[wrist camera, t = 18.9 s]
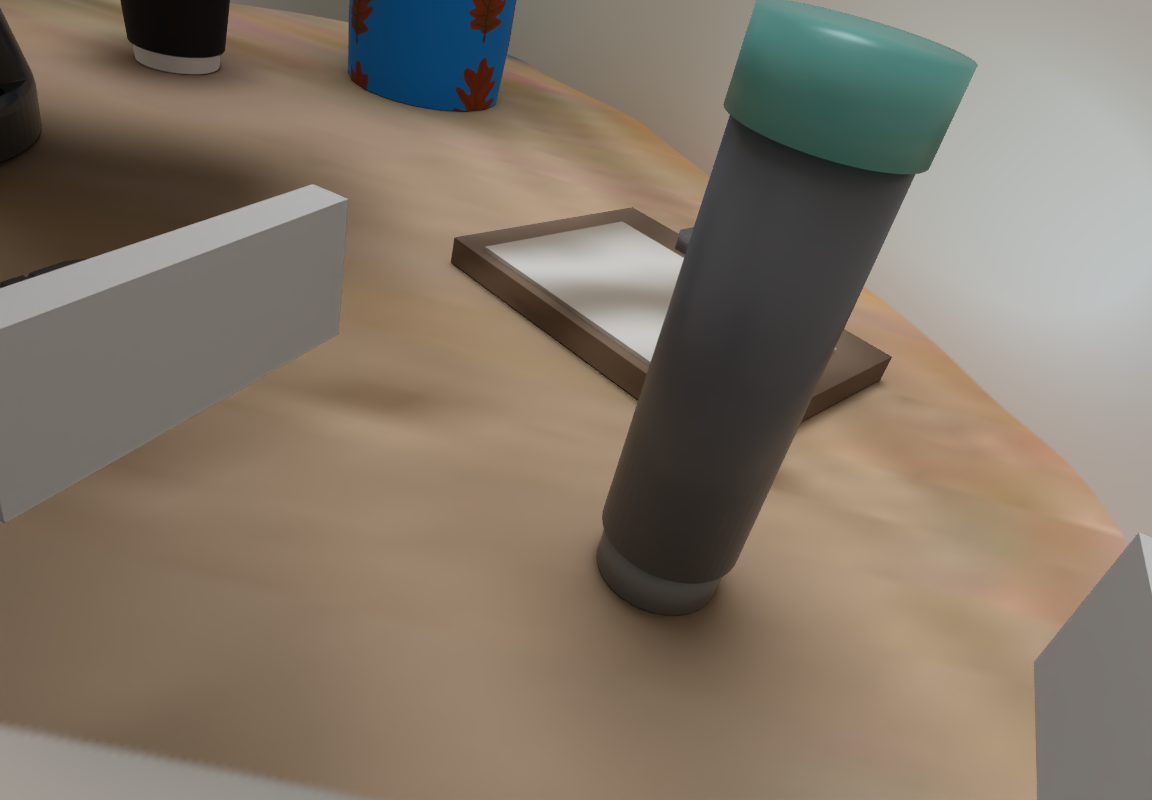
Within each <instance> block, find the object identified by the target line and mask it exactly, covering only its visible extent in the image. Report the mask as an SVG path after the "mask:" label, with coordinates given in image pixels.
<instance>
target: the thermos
mask: <svg viewBox="0 0 1152 800" xmlns="http://www.w3.org/2000/svg"><path fill="white" fill-rule="evenodd" d="M515 4H516V0H350V3H349V51H348V72H349V75H350V77H351V79H352V81H354V82H355V83H357V84H358V85H360V86H361V87H363V88H364V89H366V90H368V91H370V92H373V93H375V94H378V95H380V96H382V97H385V98H387V99H391V100H395V101H398V102H402V103H406V104H409V105H413V106H419V107H425V108H431V109H437V110H447V111H465V112H466V111H475V110H485V109H487V108H489V107H491V106H494V105H495V104H496V100H497V96H498V92H499V87H500V83H501V78H502V73H503V69H504V64H505V60H506V55H507V51H508V46H509V41H510V35H511V29H512V23H513V16H514V11H515Z"/></svg>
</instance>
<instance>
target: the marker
mask: <svg viewBox="0 0 1152 800" xmlns="http://www.w3.org/2000/svg"><path fill="white" fill-rule="evenodd" d="M976 67H977V63H976V62H975V61H973V60H972V59H970V58H969V57H967V56H965V55H964V54H962V53H960V52H957V51H955V50H953V49H951V48H949V47H946V46H944V45H941V44H939V43H936V42H933V41H931V40H929V39H926V38H923V37H920V36H918V35H915V34H912V33H909V32H906V31H903V30H900V29H897V28H894V27H891V26H887V25H884V24H881V23H878V22H875V21H871V20H868V19H864V18H861V17H857V16H854V15H850V14H846V13H842V12H838V11H835V10H831V9H826V8H822V7H818V6H813V5H809V4H804V3H799V2H794V1H787V0H756V3H755V6H754V9H753V12H752V15H751V19H750V22H749V25H748V28H747V31H746V35H745V38H744V41H743V44H742V47H741V50H740V53H739V57H738V60H737V63H736V66H735V70H734V73H733V76H732V79H731V82H730V86H729V88H728V92H727V95H726V98H725V101H724V108H725V109H726V111H727V112H728V113H729V114H730V117H729V120H728V123H727V126H726V129H725V132H724V135H723V138H722V142H721V145H720V148H719V151H718V154H717V157H716V160H715V164H714V166H713V170H712V173H711V176H710V179H709V182H708V185H707V188H706V191H705V194H704V198H703V201H702V204H701V207H700V210H699V213H698V216H697V219H696V222H695V226H694V229H693V232H692V235H691V238H690V241H689V244H688V247H687V250H686V254H685V257H684V260H683V263H682V266H681V269H680V272H679V275H678V278H677V282H676V285H675V288H674V291H673V294H672V297H671V300H670V303H669V307H668V310H667V313H666V316H665V319H664V322H663V325H662V328H661V331H660V335H659V338H658V341H657V344H656V347H655V350H654V353H653V356H652V359H651V363H650V366H649V369H648V372H647V375H646V378H645V381H644V384H643V387H642V391H641V394H640V397H639V400H638V403H637V406H636V409H635V412H634V415H633V419H632V422H631V425H630V428H629V431H628V434H627V437H626V440H625V443H624V447H623V450H622V453H621V456H620V459H619V462H618V465H617V468H616V472H615V475H614V478H613V481H612V484H611V487H610V490H609V493H608V496H607V500H606V503H605V506H604V509H603V515H602V520H603V526H604V531H603V534H602V537H601V540H600V544H599V547H598V550H597V563H598V567H599V570H600V572H601V575H602V576H603V578H604V580H605V581H606V583H607V584H608V585H609V586H610V588H611V589H612V590H613V591H614V592H615V593H617V594H618V595H619V596H620V597H621V598H623V599H624V600H626V601H627V602H629V603H631V604H632V605H634V606H636V607H638V608H641V609H643V610H646V611H649V612H652V613H656V614H661V615H685V614H689V613H692V612H695V611H697V610H699V609H701V608H703V607H704V606H705V605H706V604H707V603H708V602H709V601H710V600H711V598H712V596H713V594H714V592H715V590H716V588H717V585H718V583H719V581H720V579H721V577H723V576H724V575H726V574H727V573H728V572H729V571H730V570H731V569H732V568H733V567H734V565H735V563H736V561H737V559H738V557H739V555H740V553H741V551H742V549H743V546H744V544H745V542H746V540H747V538H748V536H749V533H750V531H751V529H752V527H753V525H754V523H755V520H756V518H757V516H758V514H759V512H760V510H761V507H762V505H763V503H764V501H765V499H766V497H767V494H768V492H769V490H770V488H771V486H772V484H773V481H774V479H775V477H776V475H777V473H778V471H779V468H780V466H781V464H782V462H783V460H784V458H785V455H786V453H787V451H788V449H789V447H790V445H791V442H792V440H793V438H794V436H795V434H796V432H797V429H798V427H799V425H800V423H801V421H802V419H803V416H804V414H805V412H806V410H807V408H808V406H809V403H810V401H811V399H812V397H813V395H814V393H815V390H816V388H817V386H818V384H819V382H820V380H821V377H822V375H823V373H824V371H825V369H826V367H827V364H828V362H829V360H830V358H831V356H832V354H833V351H834V349H835V347H836V345H837V343H838V341H839V338H840V336H841V334H842V332H843V330H844V328H845V325H846V323H847V321H848V319H849V317H850V315H851V312H852V310H853V308H854V306H855V304H856V302H857V299H858V297H859V295H860V293H861V291H862V289H863V286H864V284H865V282H866V280H867V278H868V275H869V273H870V271H871V269H872V267H873V265H874V263H875V260H876V258H877V256H878V254H879V252H880V249H881V247H882V245H883V243H884V241H885V239H886V237H887V234H888V232H889V230H890V228H891V226H892V224H893V221H894V219H895V217H896V215H897V213H898V211H899V208H900V206H901V204H902V202H903V200H904V198H905V195H906V193H907V191H908V189H909V187H910V185H911V182H912V180H913V178H914V176H915V174H919V173H922V172H925V171H927V170H928V169H929V167H930V166H931V163H932V161H933V159H934V157H935V155H936V153H937V151H938V149H939V146H940V144H941V142H942V140H943V138H944V136H945V134H946V131H947V129H948V127H949V125H950V123H951V121H952V119H953V117H954V114H955V112H956V110H957V108H958V106H959V104H960V102H961V99H962V97H963V95H964V93H965V91H966V89H967V87H968V85H969V83H970V80H971V78H972V76H973V74H974V72H975V70H976Z"/></svg>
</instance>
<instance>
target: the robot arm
mask: <svg viewBox="0 0 1152 800" xmlns="http://www.w3.org/2000/svg"><path fill="white" fill-rule="evenodd" d="M40 132H41V119H40V112H39V104H38V97H37V90H36V84H35V80H34V77H33V74H32V72H31V69H30V67H29V65H28V63H27V61H26V59H25V57H24V55H23V53H22V51H21V49H20V47H19V45H18V43H17V41H16V39H15V37H14V35H13V33H12V31H11V29H10V27H9V25H8V23H7V21H6V19H5V17H4V15H3V13H2V11H1V9H0V162H2V161H4V160H7V159H9V158H11V157H13V156H15V155H17V154H19V153H21V152H22V151H24V150H25V149H27V148H28V147H29V146H31V145H32V144H33V143H34V142H35V141H36V139H37V138H38V136H39V135H40ZM347 208H348V199H347V198H345V197H342V196H340V195H337V194H335V193H333V192H330V191H328V190H326V189H323V188H321V187H319V186H316V185H314V184H311V185H308V186H305V187H302V188H299V189H296V190H293V191H290V192H287V193H284V194H281V195H278V196H275V197H272V198H269V199H266V200H263V201H260V202H257V203H254V204H251V205H248V206H245V207H243V208H240V209H237V210H234V211H231V212H228V213H225V214H222V215H219V216H216V217H213V218H210V219H207V220H204V221H201V222H198V223H195V224H192V225H189V226H186V227H183V228H180V229H177V230H174V231H171V232H168V233H165V234H162V235H159V236H156V237H153V238H150V239H147V240H144V241H141V242H138V243H135V244H132V245H129V246H126V247H123V248H120V249H117V250H114V251H111V252H108V253H105V254H102V255H99V256H96V257H93V258H89V259H81V260H73V261H65V262H62V263H59V264H56V265H53V266H50V267H46V268H43V269H40V270H37V271H34V272H31V273H29V276H28V277H25V276H23V275H22V276H19V277H16V278H13V279H10V280H7V281H4V282H1V285H0V521H2V522H3V523H7V522H8V521H10V520H12V519H14V518H15V517H17V516H19V515H21V514H22V513H24V512H26V511H28V510H29V509H31V508H33V507H35V506H37V505H38V504H40V503H42V502H44V501H45V500H47V499H49V498H51V497H52V496H54V495H56V494H58V493H59V492H61V491H63V490H65V489H66V488H68V487H70V486H72V485H74V484H75V483H77V482H79V481H81V480H82V479H84V478H86V477H88V476H89V475H91V474H93V473H95V472H96V471H98V470H100V469H102V468H103V467H105V466H107V465H109V464H111V463H112V462H114V461H116V460H118V459H119V458H121V457H123V456H125V455H126V454H128V453H130V452H132V451H133V450H135V449H137V448H139V447H140V446H142V445H144V444H146V443H148V442H149V441H151V440H153V439H155V438H156V437H158V436H160V435H162V434H163V433H165V432H167V431H169V430H170V429H172V428H174V427H176V426H177V425H179V424H181V423H183V422H185V421H186V420H188V419H190V418H192V417H193V416H195V415H197V414H199V413H200V412H202V411H204V410H206V409H207V408H209V407H211V406H213V405H214V404H216V403H218V402H220V401H221V400H223V399H225V398H227V397H229V396H230V395H232V394H234V393H236V392H237V391H239V390H241V389H243V388H244V387H246V386H248V385H250V384H251V383H253V382H255V381H257V380H258V379H260V378H262V377H264V376H266V375H267V374H269V373H271V372H273V371H274V370H276V369H278V368H280V367H281V366H283V365H285V364H287V363H288V362H290V361H292V360H294V359H295V358H297V357H299V356H301V355H303V354H304V353H306V352H308V351H310V350H311V349H313V348H315V347H317V346H318V345H320V344H322V343H324V342H325V341H327V340H329V339H331V338H332V337H334V336H336V335H338V334H339V321H340V307H341V293H342V279H343V265H344V251H345V236H346V222H347ZM1034 687H1035V727H1036V768H1037V800H1152V538H1151V537H1149V536H1146V535H1144V534H1142V533H1138V534H1137V535H1136V537H1135V538H1134V539H1133V541H1132V542H1131V543H1130V544H1129V545H1128V547H1127V548H1126V549H1125V550H1124V551H1123V553H1122V554H1121V555H1120V556H1119V558H1118V559H1117V560H1116V561H1115V563H1114V564H1113V565H1112V566H1111V568H1110V569H1109V570H1108V571H1107V572H1106V574H1105V575H1104V576H1103V577H1102V579H1101V580H1100V581H1099V582H1098V584H1097V585H1096V586H1095V587H1094V589H1093V590H1092V591H1091V592H1090V593H1089V595H1088V596H1087V597H1086V598H1085V600H1084V601H1083V602H1082V603H1081V605H1080V606H1079V607H1078V608H1077V610H1076V611H1075V612H1074V613H1073V615H1072V616H1071V617H1070V618H1069V619H1068V621H1067V622H1066V623H1065V624H1064V626H1063V627H1062V628H1061V629H1060V631H1059V632H1058V633H1057V634H1056V636H1055V637H1054V638H1053V639H1052V640H1051V642H1050V643H1049V644H1048V645H1047V647H1046V648H1045V649H1044V650H1043V652H1042V653H1041V654H1040V655H1039V657H1038V658H1037V659H1036V660H1035V661H1034Z"/></svg>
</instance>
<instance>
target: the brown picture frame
mask: <svg viewBox="0 0 1152 800" xmlns="http://www.w3.org/2000/svg"><path fill="white" fill-rule="evenodd" d="M693 229H694V227H693V228H688V229H683V230H680V233H679V234H678V233H676V232H674V231H672V230H671V229H669V228H667V227H666V226H664V225H662V224H660V223H659V222H657V221H655V220H653V219H652V218H650V217H648V216H646V215H645V214H643V213H641V212H640V211H638V210H636V209H634V208H633V207H632V208H626V209H621V210H615V211H609V212H603V213H597V214H591V215H585V216H579V217H573V218H567V219H562V220H556V221H550V222H544V223H538V224H532V225H526V226H520V227H514V228H508V229H503V230H497V231H491V232H485V233H479V234H473V235H467V236H461V237H455V238H454V245H453V252H452V258H451V262H452V263H453V264H454V265H456V266H457V267H458V268H460V269H461V270H463V271H464V272H465V273H467V274H468V275H469V276H471V277H472V278H473V279H475V280H476V281H477V282H479V283H480V284H482V285H483V286H484V287H486V288H487V289H488V290H490V291H491V292H492V293H494V294H495V295H497V296H498V297H499V298H501V299H502V300H503V301H505V302H506V303H507V304H509V305H510V306H511V307H513V308H514V309H516V310H517V311H518V312H520V313H521V314H522V315H524V316H525V317H526V318H528V319H529V320H530V321H532V322H533V323H535V324H536V325H537V326H539V327H540V328H541V329H543V330H544V331H545V332H547V333H548V334H549V335H551V336H552V337H554V338H555V339H556V340H558V341H559V342H560V343H562V344H563V345H564V346H566V347H567V348H568V349H570V350H571V351H573V352H574V353H575V354H577V355H578V356H579V357H581V358H582V359H583V360H585V361H586V362H587V363H589V364H590V365H592V366H593V367H594V368H596V369H597V370H598V371H600V372H601V373H602V374H604V375H605V376H606V377H608V378H609V379H611V380H612V381H613V382H615V383H616V384H617V385H619V386H620V387H621V388H623V389H624V390H626V391H627V392H628V393H630V394H631V395H632V396H634V397H635V398H636V399H638V400H639V397H640V394H641V391H642V387H643V384H644V381H645V378H646V375H647V372H648V369H649V366H650V363H651V359H652V356H653V353H654V350H655V347H656V344H657V341H658V338H659V335H660V331H661V328H662V325H663V322H664V319H665V316H666V313H667V310H668V307H669V303H670V300H671V297H672V294H673V291H674V288H675V285H676V282H677V278H678V275H679V272H680V269H681V266H682V263H683V260H684V257H685V254H686V250H687V247H688V244H689V241H690V238H691V235H692V232H693ZM891 358H892V357H891V356H889V355H888V354H886V353H884V352H882V351H881V350H879V349H877V348H876V347H874V346H872V345H870V344H869V343H867V342H865V341H863V340H862V339H860V338H858V337H856V336H855V335H853V334H851V333H850V332H848V331H846V330H843V332H842V334H841V336H840V338H839V341H838V343H837V345H836V347H835V349H834V351H833V354H832V356H831V358H830V360H829V362H828V364H827V367H826V369H825V371H824V373H823V375H822V377H821V380H820V382H819V384H818V386H817V388H816V390H815V393H814V395H813V397H812V399H811V401H810V403H809V406H808V408H807V410H806V412H805V414H804V416H803V419H802V421H804V420H806V419H807V418H809V417H811V416H813V415H815V414H817V413H819V412H820V411H822V410H824V409H826V408H828V407H830V406H832V405H833V404H835V403H837V402H839V401H841V400H843V399H845V398H847V397H848V396H850V395H852V394H854V393H856V392H858V391H860V390H861V389H863V388H865V387H867V386H869V385H871V384H873V383H875V382H876V381H878V380H880V379H881V377H882V375H883V373H884V371H885V369H886V367H887V366H888V364H889V362H890V360H891ZM802 421H801V422H802Z"/></svg>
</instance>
